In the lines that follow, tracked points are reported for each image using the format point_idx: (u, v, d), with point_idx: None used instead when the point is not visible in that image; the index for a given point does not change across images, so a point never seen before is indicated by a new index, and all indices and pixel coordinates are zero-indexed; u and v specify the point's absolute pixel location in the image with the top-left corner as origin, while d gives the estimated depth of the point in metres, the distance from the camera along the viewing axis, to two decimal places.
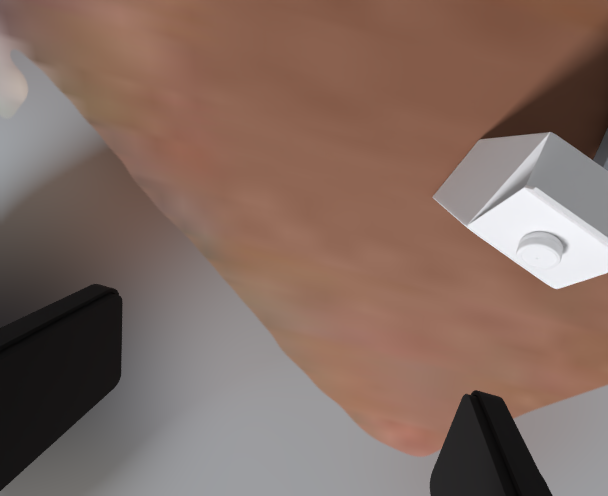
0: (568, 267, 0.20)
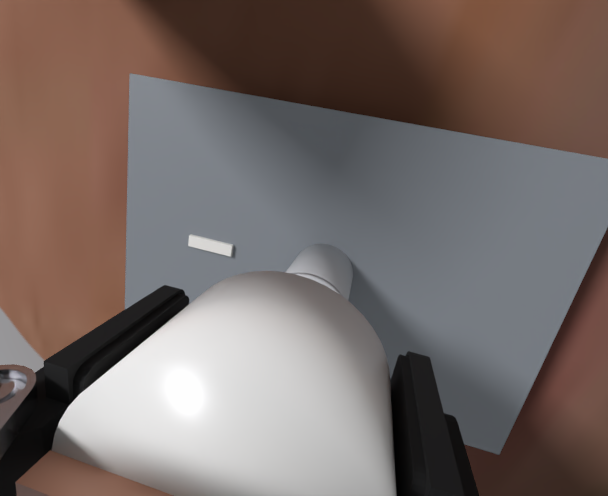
0: None
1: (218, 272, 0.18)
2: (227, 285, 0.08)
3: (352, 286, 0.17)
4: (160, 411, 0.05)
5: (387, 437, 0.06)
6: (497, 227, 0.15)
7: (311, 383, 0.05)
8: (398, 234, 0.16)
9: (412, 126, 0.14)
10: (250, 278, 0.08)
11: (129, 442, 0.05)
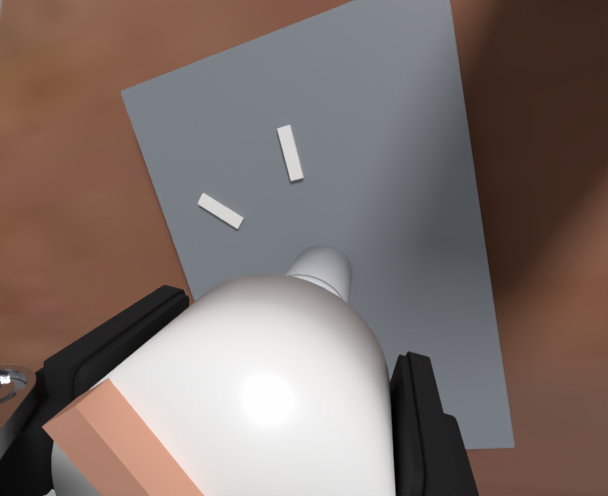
0: None
1: (266, 173, 0.16)
2: (322, 303, 0.08)
3: None
4: (267, 443, 0.05)
5: None
6: None
7: None
8: (390, 321, 0.17)
9: (490, 294, 0.16)
10: (341, 310, 0.08)
11: (207, 436, 0.05)
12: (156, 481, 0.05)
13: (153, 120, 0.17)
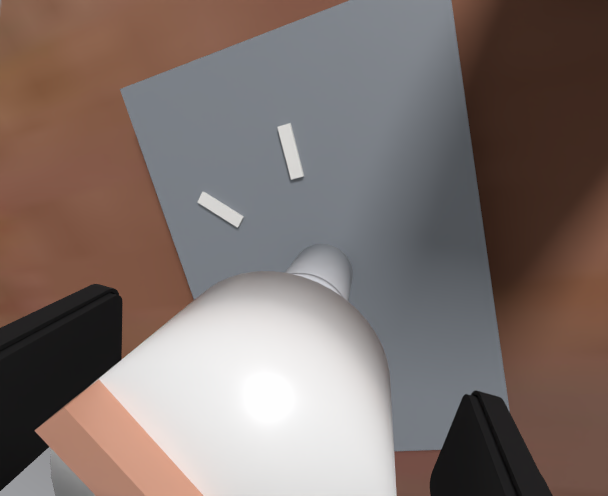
0: None
1: (266, 171, 0.16)
2: (314, 296, 0.08)
3: None
4: (259, 435, 0.05)
5: None
6: (430, 385, 0.18)
7: (391, 482, 0.05)
8: (390, 320, 0.17)
9: (490, 293, 0.16)
10: (335, 303, 0.08)
11: (199, 432, 0.05)
12: (150, 479, 0.05)
13: (153, 118, 0.17)
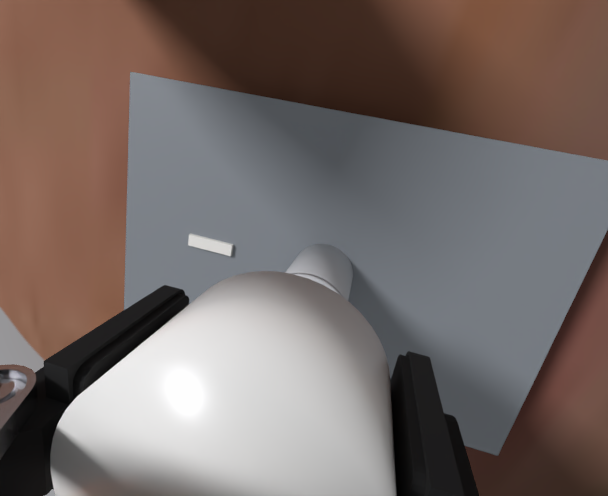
0: None
1: (218, 271, 0.18)
2: None
3: (352, 286, 0.17)
4: (115, 426, 0.05)
5: (350, 382, 0.06)
6: (497, 228, 0.15)
7: (236, 349, 0.05)
8: (398, 235, 0.16)
9: (413, 127, 0.14)
10: (206, 291, 0.08)
11: (109, 467, 0.06)
12: None
13: None
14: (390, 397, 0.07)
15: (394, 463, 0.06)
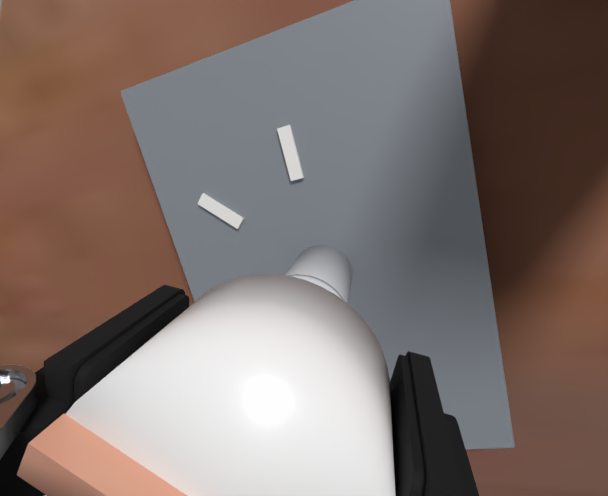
0: None
1: (266, 173, 0.16)
2: (268, 285, 0.08)
3: None
4: (207, 418, 0.05)
5: None
6: None
7: (360, 432, 0.05)
8: (390, 321, 0.17)
9: (490, 294, 0.16)
10: (292, 286, 0.08)
11: (159, 434, 0.05)
12: (127, 491, 0.05)
13: (153, 120, 0.17)
14: None
15: None
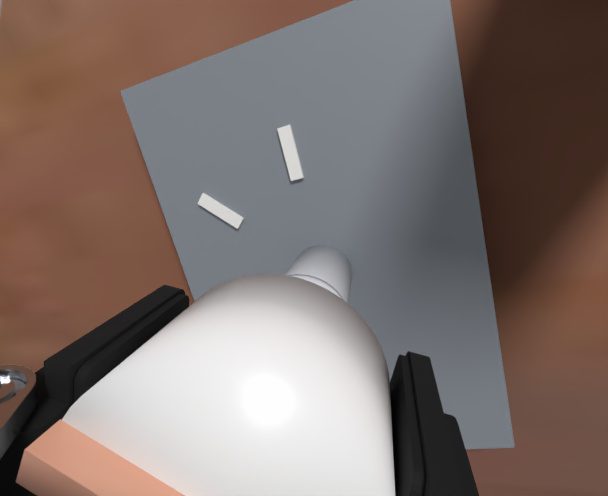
0: None
1: (266, 173, 0.16)
2: (261, 285, 0.08)
3: None
4: (198, 416, 0.05)
5: (394, 479, 0.06)
6: None
7: (353, 423, 0.05)
8: (390, 321, 0.17)
9: (490, 294, 0.16)
10: (285, 284, 0.08)
11: (153, 434, 0.05)
12: (124, 494, 0.05)
13: (153, 120, 0.17)
14: None
15: None
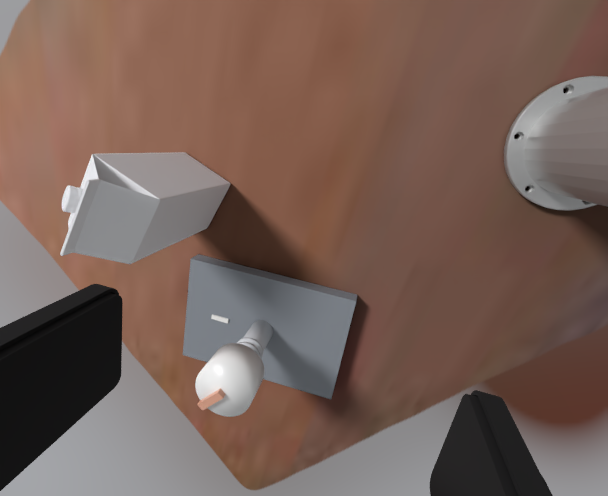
0: None
1: (223, 328, 0.47)
2: None
3: (273, 335, 0.45)
4: (203, 380, 0.34)
5: (236, 360, 0.34)
6: (318, 317, 0.43)
7: (215, 361, 0.34)
8: (287, 318, 0.44)
9: (288, 284, 0.43)
10: None
11: (205, 388, 0.34)
12: (209, 396, 0.34)
13: (194, 350, 0.49)
14: (254, 361, 0.36)
15: (250, 371, 0.34)
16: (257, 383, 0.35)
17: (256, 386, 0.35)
